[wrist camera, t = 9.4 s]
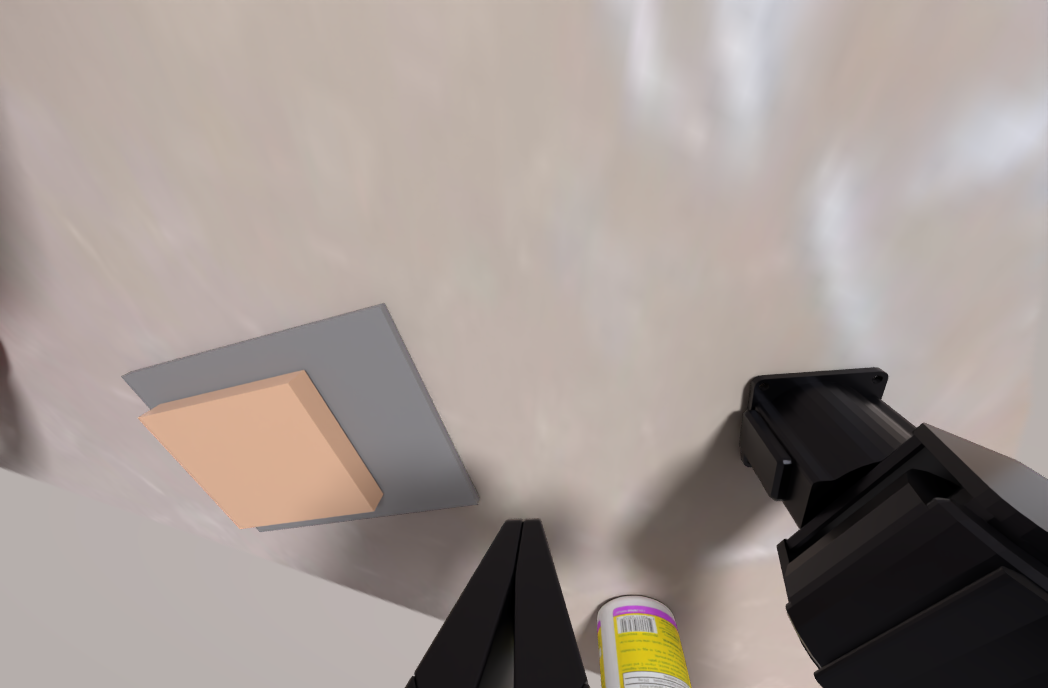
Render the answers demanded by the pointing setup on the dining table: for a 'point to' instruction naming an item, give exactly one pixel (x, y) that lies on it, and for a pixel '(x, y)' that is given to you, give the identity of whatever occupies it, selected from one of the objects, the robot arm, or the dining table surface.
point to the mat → (341, 403)
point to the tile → (266, 452)
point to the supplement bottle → (640, 645)
